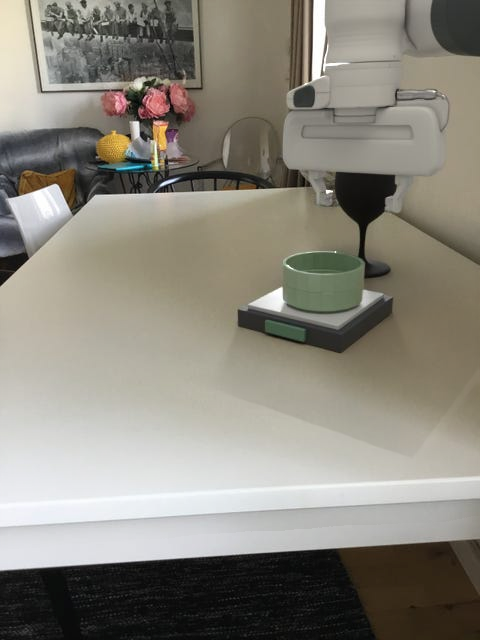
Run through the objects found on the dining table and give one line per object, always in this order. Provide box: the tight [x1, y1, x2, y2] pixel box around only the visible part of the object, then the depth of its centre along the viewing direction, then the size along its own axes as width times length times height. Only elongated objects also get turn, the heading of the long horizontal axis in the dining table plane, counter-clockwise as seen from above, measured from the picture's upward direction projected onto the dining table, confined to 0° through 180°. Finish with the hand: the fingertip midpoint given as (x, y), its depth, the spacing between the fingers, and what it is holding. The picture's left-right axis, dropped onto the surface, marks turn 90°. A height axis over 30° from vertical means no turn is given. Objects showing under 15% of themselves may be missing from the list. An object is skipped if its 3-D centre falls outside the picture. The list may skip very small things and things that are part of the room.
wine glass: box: [334, 172, 398, 279], centre depth 98 cm, size 10×10×20 cm
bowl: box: [281, 250, 365, 312], centre depth 78 cm, size 11×11×6 cm
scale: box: [237, 286, 394, 354], centre depth 80 cm, size 16×17×3 cm
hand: (357, 208), depth 72 cm, fingers open, 8 cm apart
